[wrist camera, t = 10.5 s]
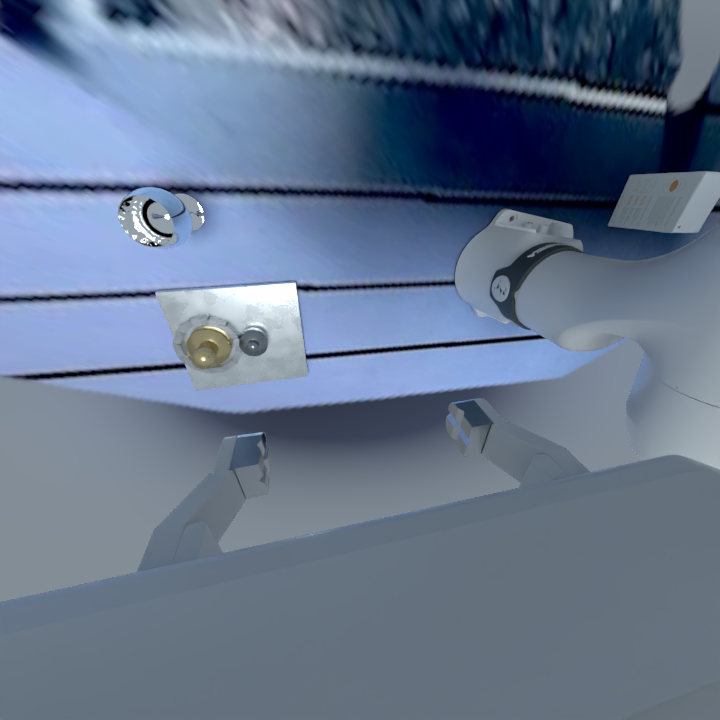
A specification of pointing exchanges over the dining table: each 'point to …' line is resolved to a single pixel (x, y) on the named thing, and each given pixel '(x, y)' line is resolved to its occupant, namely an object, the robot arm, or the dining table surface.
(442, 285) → the dining table surface
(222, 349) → the brass flanged cylinder
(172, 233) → the wineglass
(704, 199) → the small box
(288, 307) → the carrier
